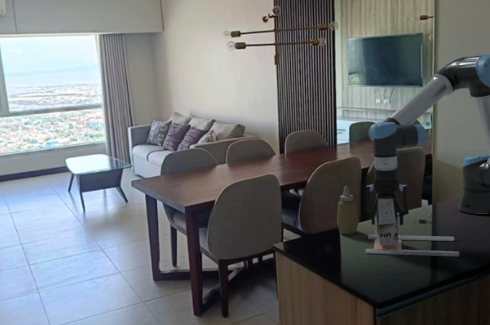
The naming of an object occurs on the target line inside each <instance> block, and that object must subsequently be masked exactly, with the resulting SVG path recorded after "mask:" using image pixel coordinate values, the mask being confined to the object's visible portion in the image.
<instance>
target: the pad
mask: <svg viewBox="0 0 490 325" xmlns="http://www.w3.org/2000/svg"><path fill="white" fill-rule="evenodd" d="M373 249H391V250H402V240H398V245H380V244H379V239H374V246H373Z"/></svg>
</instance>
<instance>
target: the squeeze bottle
mask: <svg viewBox="0 0 490 325" xmlns="http://www.w3.org/2000/svg"><path fill="white" fill-rule="evenodd" d="M339 198H340V201H338V202H337V218H336V219H337V220H336V225H337V227H338V230H339V233H341V234H343V235H352V234H353V235H354V234H355V233H357V229H358V226H359V218H358V211H357V210H358V209H357V203H356V201H354V196H353V195H352V194H350V191H349V187H348V185H347V186H346V185H345V186H344V187H343V194H341V195H340V197H339Z"/></svg>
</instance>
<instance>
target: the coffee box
mask: <svg viewBox="0 0 490 325" xmlns="http://www.w3.org/2000/svg"><path fill="white" fill-rule="evenodd" d="M375 195H376V198H377V210H376V214H377V221H378V239H379V244H380V245H398V216H397V215H398V210H397V199H398V196H397V197H392V196H388V195H385V196H381V197H377V195H378V192H377V193H376V194H375Z"/></svg>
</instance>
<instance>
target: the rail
mask: <svg viewBox="0 0 490 325" xmlns="http://www.w3.org/2000/svg"><path fill="white" fill-rule="evenodd" d="M367 237H368V240H375V239H378V235H375V234H368V236H367ZM398 240H401V241H402V240H403V241H405V240H406V241H433V242H434V241H436V242H437V241H438V242H440V241H441V242H442V241H445V242H454V241H455V237H454V236H448V235H447V236H446V235H445V236H442V235H441V236H437V235H435V236H434V235H404V234H403V235H401V234H400V235H398ZM365 254H375V255H402V256H404V255H406V256H409V255H410V256H436V257H437V256H438V257H460V252H459V251H453V250H448V251H447V250H446V251H445V250H420V249H419V250H417V249H414V250H413V249H401V250H391V249H374V248H365Z"/></svg>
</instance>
